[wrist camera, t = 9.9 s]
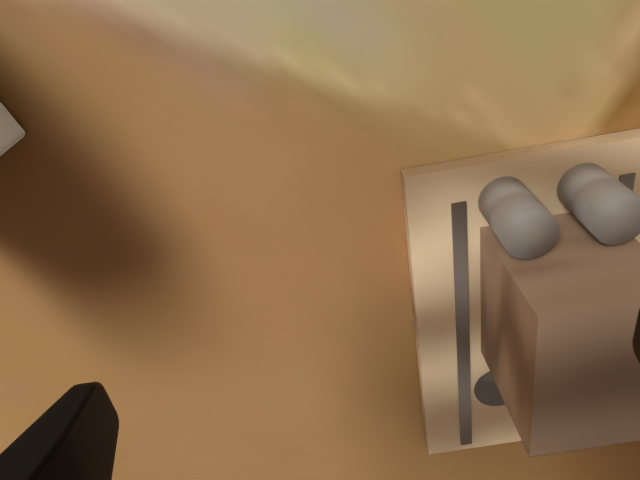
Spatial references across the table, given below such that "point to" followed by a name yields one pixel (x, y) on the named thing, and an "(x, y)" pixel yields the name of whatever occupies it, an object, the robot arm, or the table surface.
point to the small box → (8, 130)
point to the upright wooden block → (564, 338)
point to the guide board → (437, 272)
